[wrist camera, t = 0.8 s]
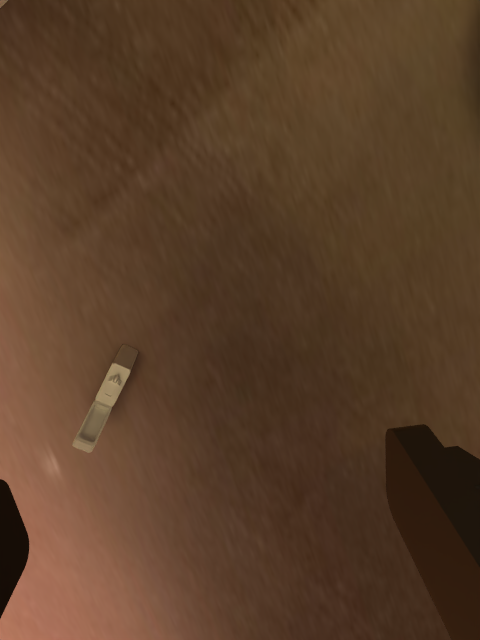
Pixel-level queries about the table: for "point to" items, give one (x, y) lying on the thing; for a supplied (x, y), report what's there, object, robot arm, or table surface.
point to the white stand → (2, 2)
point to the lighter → (105, 399)
